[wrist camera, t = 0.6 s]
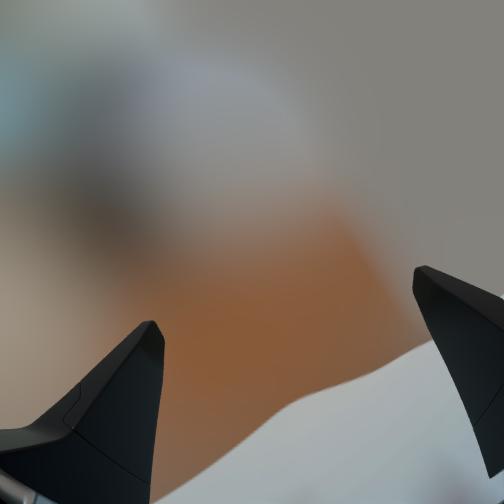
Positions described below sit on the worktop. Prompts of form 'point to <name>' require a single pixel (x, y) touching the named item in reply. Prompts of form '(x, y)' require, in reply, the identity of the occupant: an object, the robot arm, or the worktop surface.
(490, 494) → the worktop surface
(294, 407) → the worktop surface
